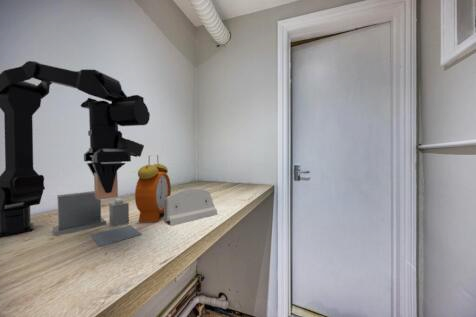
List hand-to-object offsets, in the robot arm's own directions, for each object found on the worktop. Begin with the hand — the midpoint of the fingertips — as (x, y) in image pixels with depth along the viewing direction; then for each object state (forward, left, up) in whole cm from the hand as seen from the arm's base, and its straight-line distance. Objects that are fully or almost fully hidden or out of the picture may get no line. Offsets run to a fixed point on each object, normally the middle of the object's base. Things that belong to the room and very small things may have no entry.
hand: (106, 191), depth 48 cm
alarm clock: (-8, +15, -12) cm, 21 cm away
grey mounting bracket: (+1, +23, -12) cm, 26 cm away
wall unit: (-13, -3, -11) cm, 18 cm away
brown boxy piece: (0, 0, -1) cm, 1 cm away
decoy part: (-9, +5, -11) cm, 16 cm away
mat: (0, +2, -11) cm, 11 cm away
